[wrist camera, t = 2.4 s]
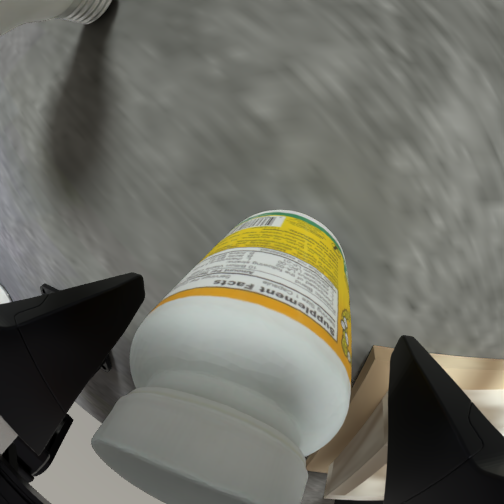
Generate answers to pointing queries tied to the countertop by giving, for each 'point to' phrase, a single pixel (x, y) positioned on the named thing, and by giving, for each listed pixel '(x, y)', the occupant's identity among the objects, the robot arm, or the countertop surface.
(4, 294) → the can
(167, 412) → the supplement bottle
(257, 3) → the countertop surface
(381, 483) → the base
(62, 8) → the lightbulb
